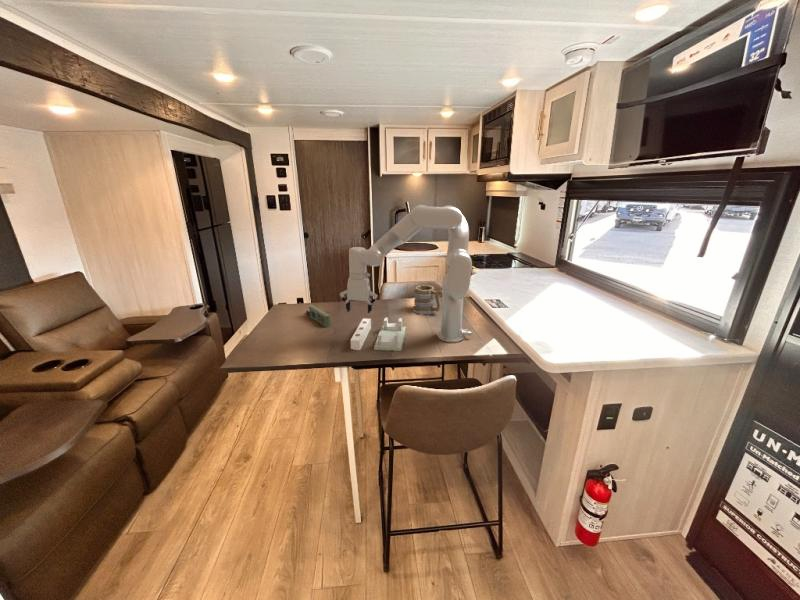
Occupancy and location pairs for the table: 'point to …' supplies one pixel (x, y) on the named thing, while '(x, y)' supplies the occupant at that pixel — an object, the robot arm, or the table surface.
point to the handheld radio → (319, 316)
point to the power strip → (360, 334)
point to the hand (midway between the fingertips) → (359, 311)
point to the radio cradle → (390, 336)
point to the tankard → (426, 300)
